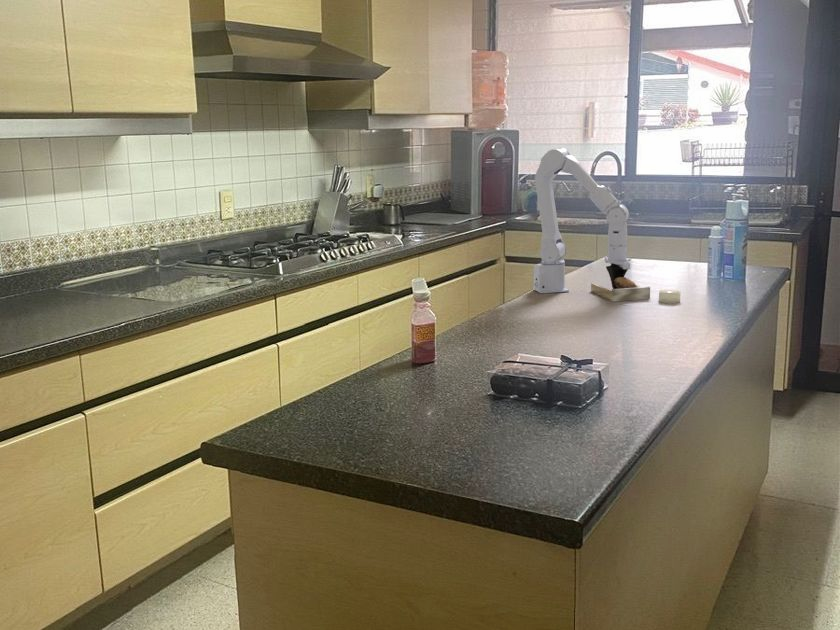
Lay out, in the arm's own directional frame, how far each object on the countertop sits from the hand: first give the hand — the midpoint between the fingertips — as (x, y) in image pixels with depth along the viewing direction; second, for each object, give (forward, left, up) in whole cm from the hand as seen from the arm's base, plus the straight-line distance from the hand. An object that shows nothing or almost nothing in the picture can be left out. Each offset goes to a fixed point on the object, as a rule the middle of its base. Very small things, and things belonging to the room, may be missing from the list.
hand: (616, 289), depth 262 cm
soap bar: (+10, -16, -2) cm, 19 cm away
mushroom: (+1, -5, -2) cm, 5 cm away
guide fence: (0, -2, -1) cm, 2 cm away
